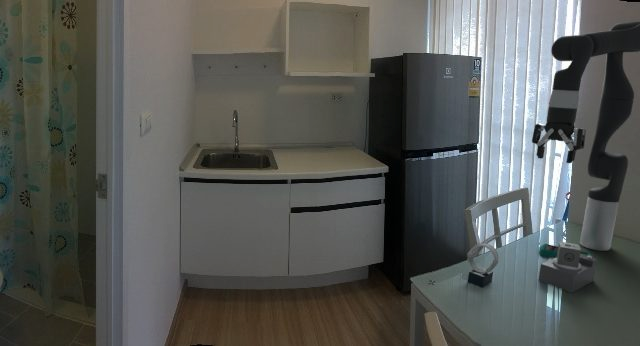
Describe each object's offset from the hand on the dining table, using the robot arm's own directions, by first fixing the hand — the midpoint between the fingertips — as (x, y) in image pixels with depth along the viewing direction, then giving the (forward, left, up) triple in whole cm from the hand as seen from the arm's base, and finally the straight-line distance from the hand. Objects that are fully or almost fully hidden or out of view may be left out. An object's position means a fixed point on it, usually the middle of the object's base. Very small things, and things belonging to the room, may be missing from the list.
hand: (554, 160), depth 136 cm
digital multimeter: (-11, +3, -33) cm, 35 cm away
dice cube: (+10, +12, -26) cm, 31 cm away
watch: (+31, -1, -32) cm, 45 cm away
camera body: (+8, +12, -32) cm, 35 cm away
